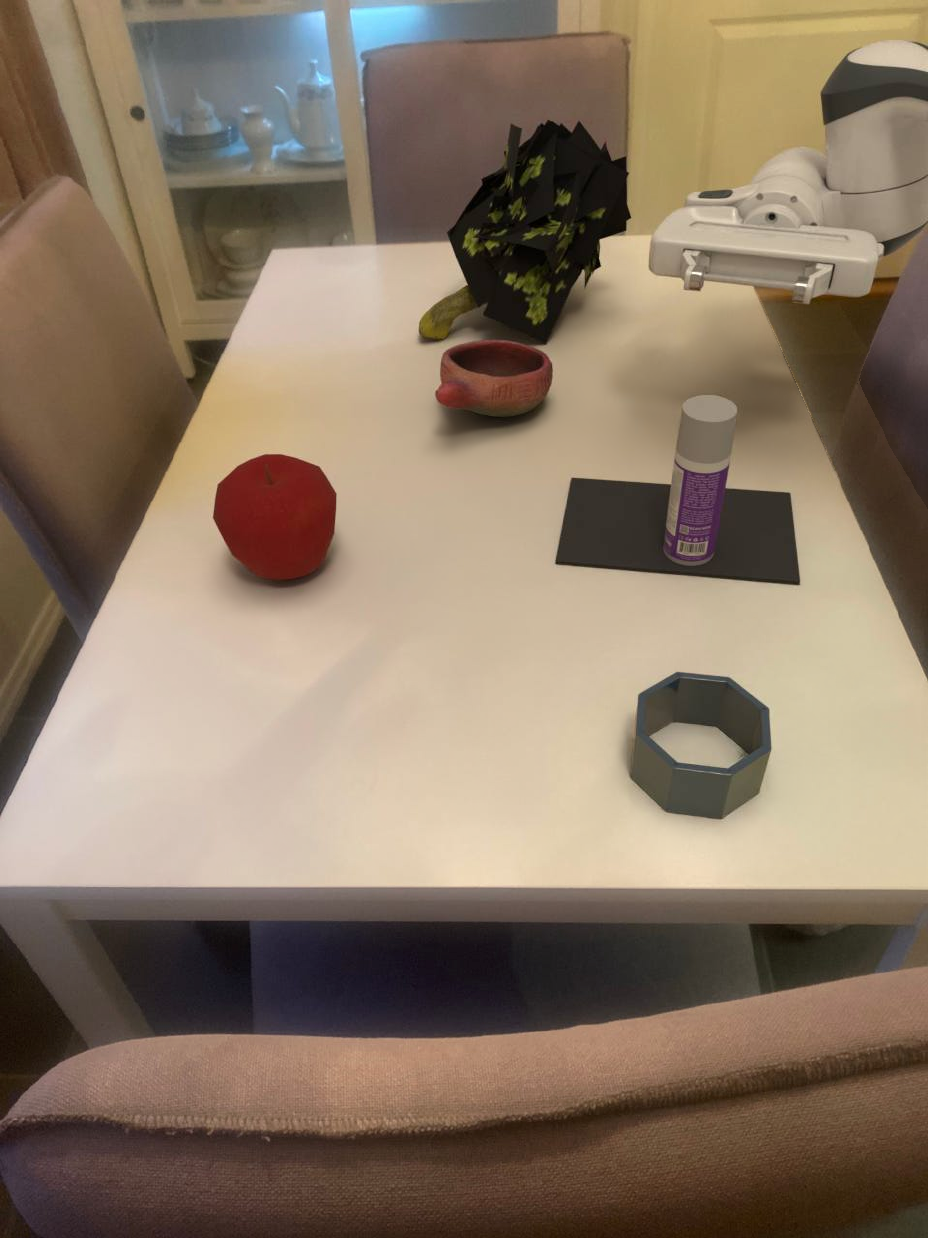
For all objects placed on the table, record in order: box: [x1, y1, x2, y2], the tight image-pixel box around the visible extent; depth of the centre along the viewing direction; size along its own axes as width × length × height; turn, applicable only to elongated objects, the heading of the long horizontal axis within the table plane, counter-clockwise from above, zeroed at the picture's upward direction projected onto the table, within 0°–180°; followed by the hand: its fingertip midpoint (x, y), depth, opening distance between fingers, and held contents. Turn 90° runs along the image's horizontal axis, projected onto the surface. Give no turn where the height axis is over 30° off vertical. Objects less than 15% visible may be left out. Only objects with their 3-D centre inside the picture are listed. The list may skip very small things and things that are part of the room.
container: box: [663, 394, 738, 566], centre depth 81 cm, size 5×5×15 cm
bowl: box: [434, 339, 554, 418], centre depth 104 cm, size 16×13×8 cm
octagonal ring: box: [629, 671, 773, 820], centre depth 66 cm, size 9×9×5 cm
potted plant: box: [418, 119, 632, 345], centre depth 119 cm, size 21×22×30 cm
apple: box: [212, 453, 337, 581], centre depth 83 cm, size 11×11×12 cm
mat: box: [555, 477, 801, 586], centre depth 89 cm, size 22×14×1 cm, turn 79°
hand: (745, 288), depth 80 cm, fingers open, 8 cm apart
